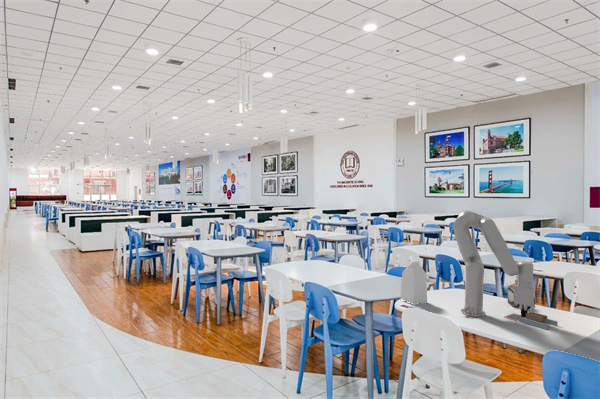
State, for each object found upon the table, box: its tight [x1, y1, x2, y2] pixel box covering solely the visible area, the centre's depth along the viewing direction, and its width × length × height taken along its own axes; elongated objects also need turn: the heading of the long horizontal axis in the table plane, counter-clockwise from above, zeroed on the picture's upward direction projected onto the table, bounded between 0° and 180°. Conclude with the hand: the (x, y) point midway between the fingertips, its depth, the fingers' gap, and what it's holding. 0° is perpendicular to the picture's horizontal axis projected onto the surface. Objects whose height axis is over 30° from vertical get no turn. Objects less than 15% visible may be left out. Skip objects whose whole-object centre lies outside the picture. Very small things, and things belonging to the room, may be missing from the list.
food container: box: [506, 286, 519, 308], centre depth 241 cm, size 12×6×10 cm, turn 168°
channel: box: [519, 317, 559, 331], centre depth 208 cm, size 11×14×2 cm
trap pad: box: [503, 312, 526, 322], centre depth 218 cm, size 11×8×1 cm
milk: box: [399, 260, 428, 305], centre depth 247 cm, size 12×12×26 cm
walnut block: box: [526, 311, 548, 324], centre depth 209 cm, size 6×8×5 cm
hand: (524, 316), depth 214 cm, fingers closed
